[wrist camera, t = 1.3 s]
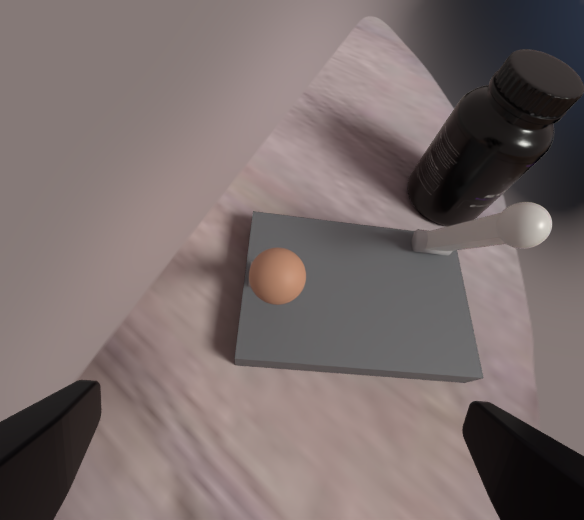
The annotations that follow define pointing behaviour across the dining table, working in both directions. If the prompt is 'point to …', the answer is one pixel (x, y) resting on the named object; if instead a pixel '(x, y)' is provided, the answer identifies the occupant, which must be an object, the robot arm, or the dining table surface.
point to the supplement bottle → (493, 137)
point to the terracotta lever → (277, 276)
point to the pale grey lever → (489, 231)
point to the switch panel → (359, 305)
